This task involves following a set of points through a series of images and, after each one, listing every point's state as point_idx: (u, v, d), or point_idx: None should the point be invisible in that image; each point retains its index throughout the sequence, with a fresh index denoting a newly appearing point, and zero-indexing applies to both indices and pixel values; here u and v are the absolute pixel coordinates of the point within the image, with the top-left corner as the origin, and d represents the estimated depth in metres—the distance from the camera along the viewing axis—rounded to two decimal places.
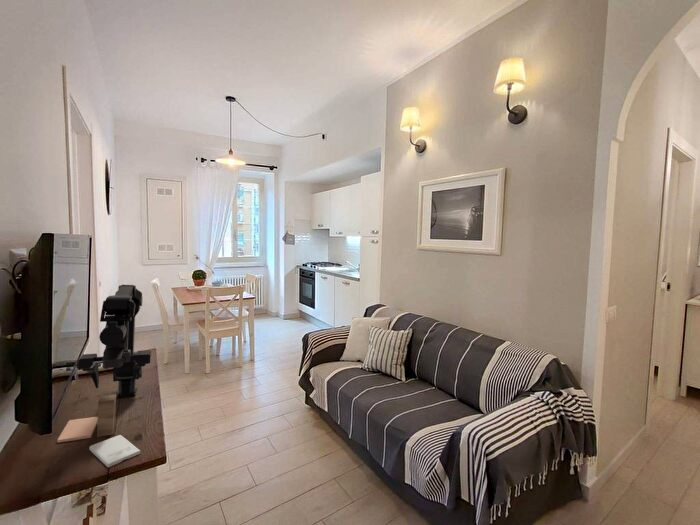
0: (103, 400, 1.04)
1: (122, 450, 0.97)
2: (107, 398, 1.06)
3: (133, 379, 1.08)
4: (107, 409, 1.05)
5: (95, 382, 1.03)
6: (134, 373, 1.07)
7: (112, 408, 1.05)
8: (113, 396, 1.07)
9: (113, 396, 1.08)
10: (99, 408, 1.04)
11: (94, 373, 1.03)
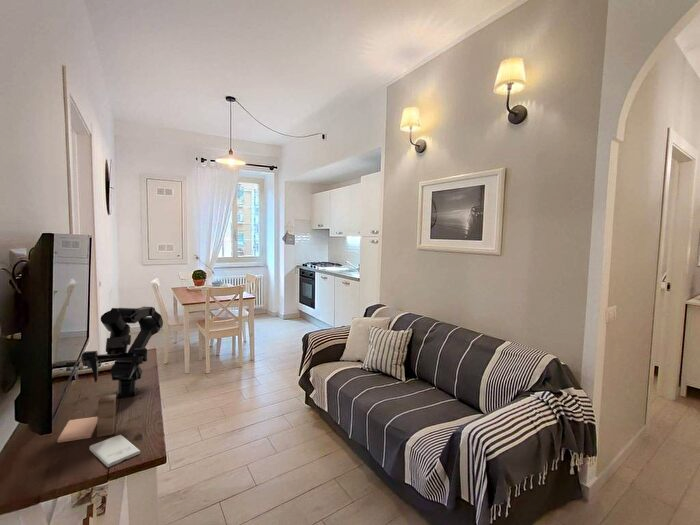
0: (103, 400, 1.04)
1: (122, 450, 0.97)
2: (107, 398, 1.06)
3: (130, 372, 1.16)
4: (107, 410, 1.05)
5: (95, 374, 1.12)
6: (131, 366, 1.17)
7: (112, 408, 1.05)
8: (113, 396, 1.07)
9: (113, 396, 1.08)
10: (99, 408, 1.04)
11: (95, 365, 1.13)
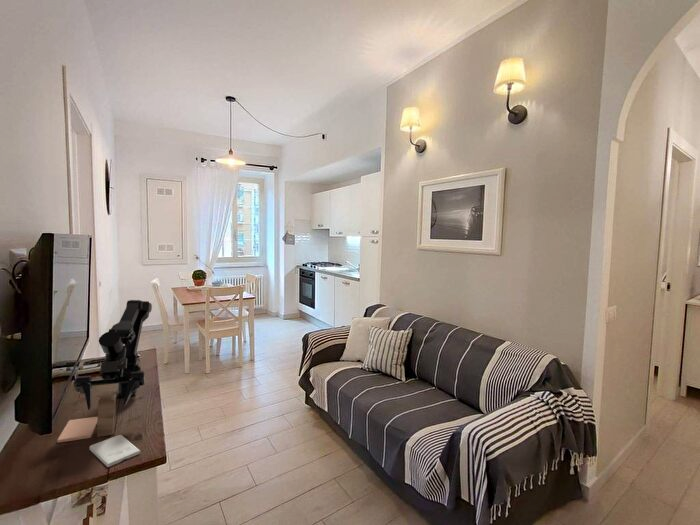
0: (103, 400, 1.04)
1: (122, 450, 0.97)
2: (107, 398, 1.06)
3: (126, 398, 1.09)
4: (107, 409, 1.05)
5: (88, 401, 1.05)
6: (127, 391, 1.10)
7: (112, 408, 1.05)
8: (113, 396, 1.07)
9: (113, 396, 1.08)
10: (99, 408, 1.04)
11: (89, 391, 1.06)
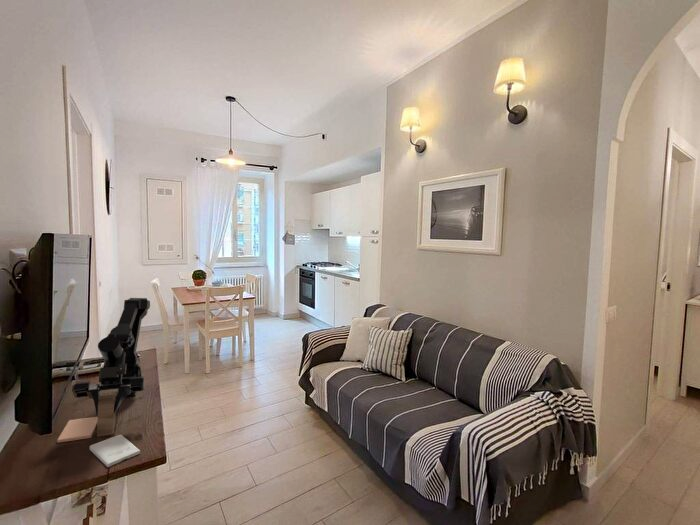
0: (103, 400, 1.04)
1: (122, 450, 0.97)
2: (107, 398, 1.06)
3: (116, 405, 1.07)
4: (107, 409, 1.05)
5: (96, 407, 1.05)
6: (117, 398, 1.08)
7: (112, 408, 1.05)
8: (113, 396, 1.07)
9: (113, 395, 1.08)
10: (99, 408, 1.04)
11: (97, 396, 1.06)
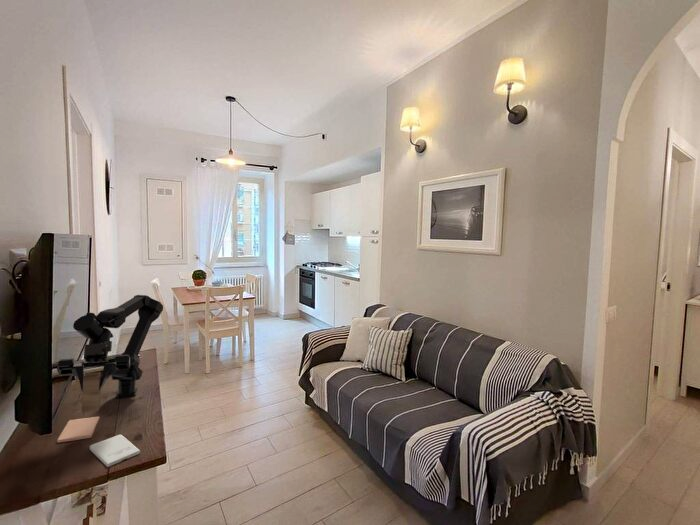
0: (88, 377, 1.04)
1: (122, 450, 0.97)
2: (92, 375, 1.06)
3: (101, 382, 1.07)
4: (93, 386, 1.05)
5: (81, 383, 1.04)
6: (103, 375, 1.08)
7: (97, 384, 1.05)
8: (98, 373, 1.07)
9: (99, 373, 1.08)
10: (84, 384, 1.04)
11: (82, 373, 1.06)
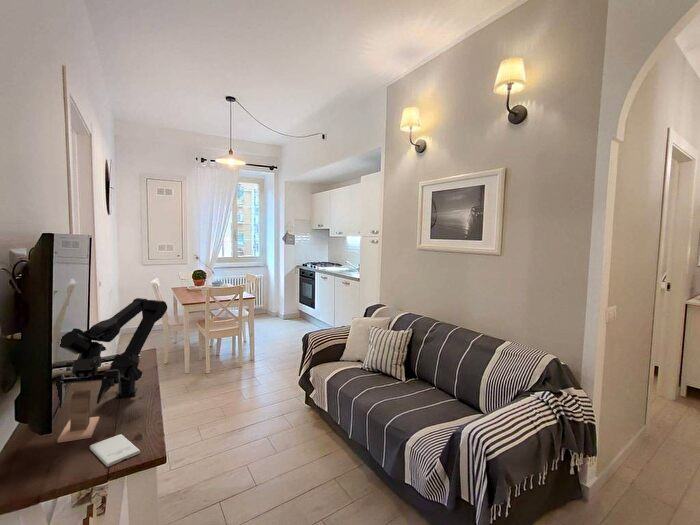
0: (76, 395, 1.04)
1: (122, 450, 0.97)
2: (81, 393, 1.06)
3: (99, 396, 1.08)
4: (81, 405, 1.05)
5: None
6: (101, 389, 1.09)
7: (85, 403, 1.05)
8: (87, 391, 1.08)
9: (88, 391, 1.08)
10: (72, 403, 1.04)
11: (61, 389, 1.05)
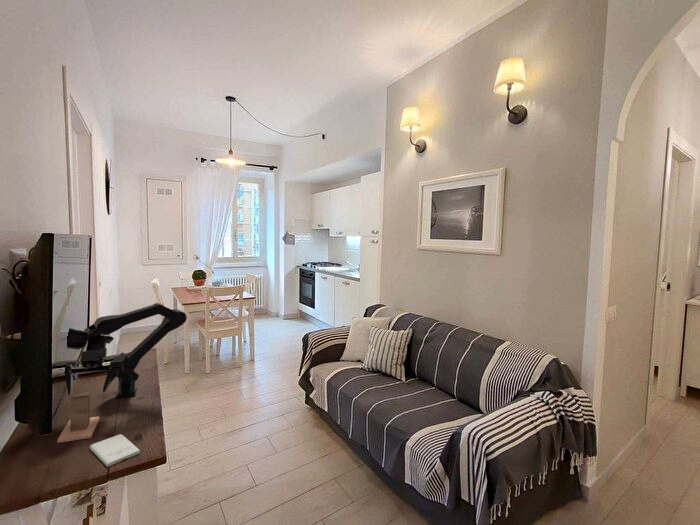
0: (76, 395, 1.04)
1: (122, 449, 0.97)
2: (81, 393, 1.06)
3: (105, 385, 1.16)
4: (81, 405, 1.05)
5: (68, 388, 1.12)
6: (106, 379, 1.17)
7: (86, 403, 1.05)
8: (87, 391, 1.08)
9: (88, 391, 1.08)
10: (72, 403, 1.04)
11: (69, 378, 1.13)
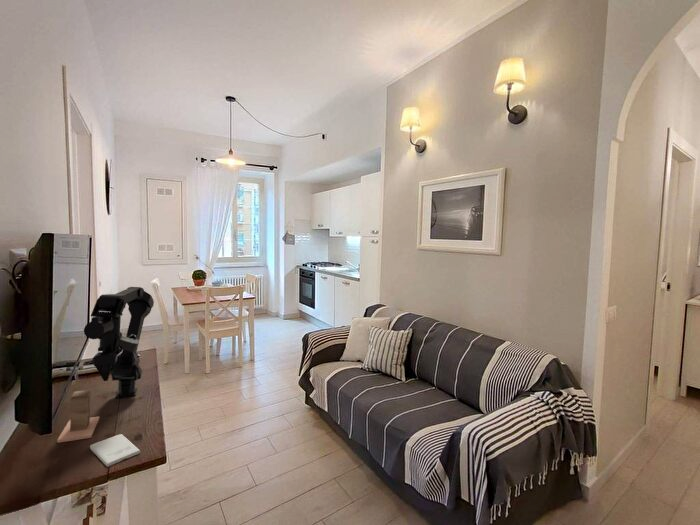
0: (76, 395, 1.04)
1: (122, 449, 0.97)
2: (81, 393, 1.06)
3: (114, 365, 1.22)
4: (81, 405, 1.05)
5: None
6: None
7: (86, 403, 1.05)
8: (87, 391, 1.08)
9: (88, 391, 1.08)
10: (72, 403, 1.04)
11: None
